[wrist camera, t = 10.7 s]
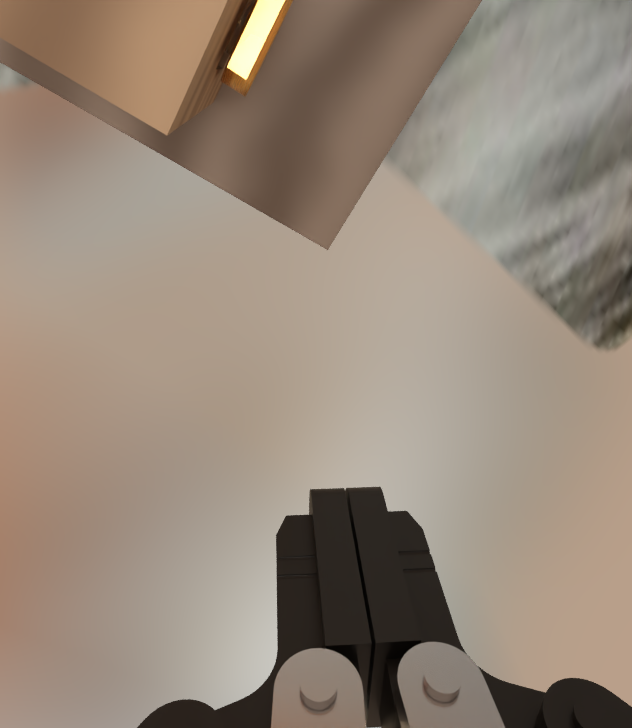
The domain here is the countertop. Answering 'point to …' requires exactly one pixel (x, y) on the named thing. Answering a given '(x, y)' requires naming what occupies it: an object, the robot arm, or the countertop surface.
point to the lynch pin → (252, 41)
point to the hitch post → (265, 97)
